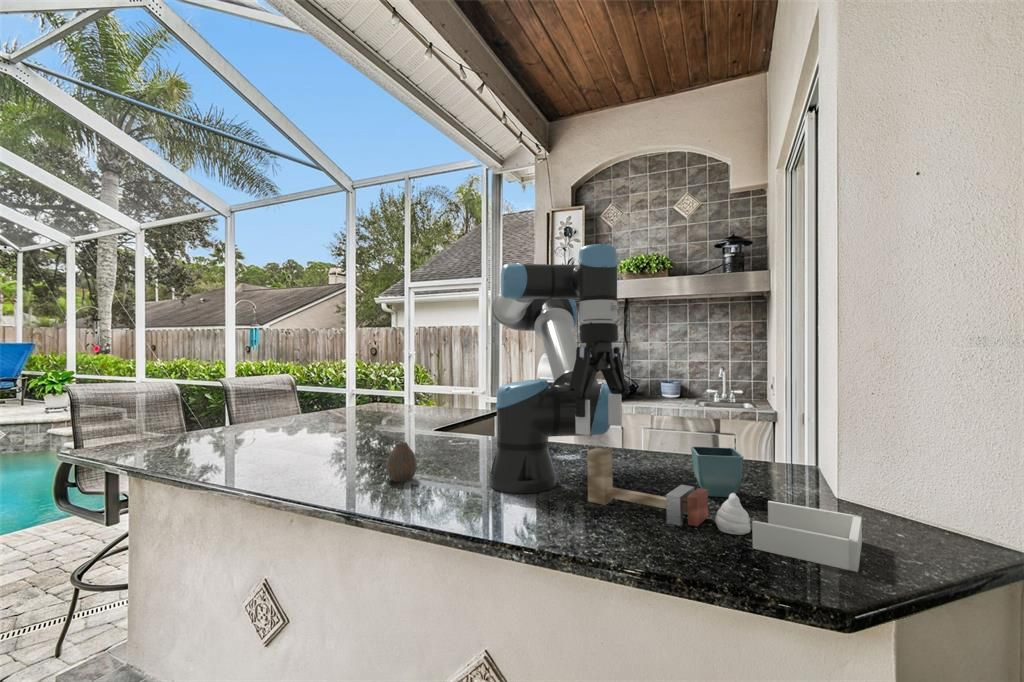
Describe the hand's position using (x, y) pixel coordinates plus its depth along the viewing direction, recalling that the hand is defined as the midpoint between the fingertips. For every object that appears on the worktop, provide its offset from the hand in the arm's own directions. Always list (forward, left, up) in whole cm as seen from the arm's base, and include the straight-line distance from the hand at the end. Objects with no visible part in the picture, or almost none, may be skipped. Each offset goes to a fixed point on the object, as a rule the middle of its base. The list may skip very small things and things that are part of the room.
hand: (599, 429), depth 96 cm
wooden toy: (+9, 0, -14) cm, 17 cm away
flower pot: (+17, +19, -15) cm, 29 cm away
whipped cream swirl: (+24, 0, -15) cm, 29 cm away
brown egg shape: (-45, -13, -15) cm, 49 cm away
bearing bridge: (+16, 0, -14) cm, 21 cm away
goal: (+35, 0, -14) cm, 38 cm away
